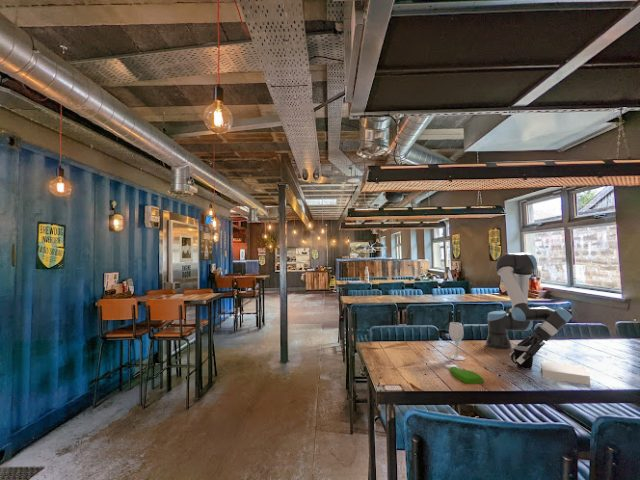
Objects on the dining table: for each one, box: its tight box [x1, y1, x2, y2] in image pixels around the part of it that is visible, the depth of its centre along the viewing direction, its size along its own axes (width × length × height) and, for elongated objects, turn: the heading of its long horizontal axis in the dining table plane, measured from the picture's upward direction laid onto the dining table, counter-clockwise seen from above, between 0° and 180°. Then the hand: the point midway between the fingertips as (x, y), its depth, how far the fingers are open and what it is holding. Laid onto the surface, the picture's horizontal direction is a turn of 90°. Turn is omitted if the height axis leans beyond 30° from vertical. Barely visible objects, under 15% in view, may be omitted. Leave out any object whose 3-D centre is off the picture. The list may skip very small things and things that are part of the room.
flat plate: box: [540, 360, 591, 386], centre depth 159 cm, size 18×16×4 cm
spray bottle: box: [444, 364, 485, 385], centre depth 164 cm, size 3×11×24 cm
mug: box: [510, 345, 534, 370], centre depth 174 cm, size 12×9×10 cm
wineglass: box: [448, 321, 466, 361], centre depth 192 cm, size 9×9×21 cm
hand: (514, 359), depth 175 cm, fingers closed on mug, 9 cm apart
